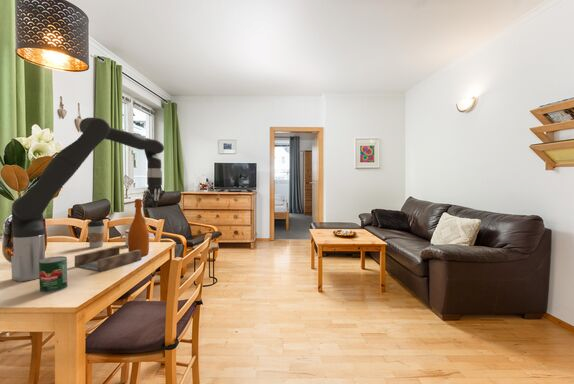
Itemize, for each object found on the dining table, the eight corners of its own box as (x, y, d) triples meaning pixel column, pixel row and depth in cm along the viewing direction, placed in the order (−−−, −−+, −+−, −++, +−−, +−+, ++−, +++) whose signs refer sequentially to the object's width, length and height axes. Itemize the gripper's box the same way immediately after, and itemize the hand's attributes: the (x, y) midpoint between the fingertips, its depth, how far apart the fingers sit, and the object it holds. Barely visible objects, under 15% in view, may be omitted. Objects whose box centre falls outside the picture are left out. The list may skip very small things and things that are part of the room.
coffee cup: (85, 248, 158) (84, 223, 158) (91, 245, 166) (90, 221, 166) (101, 248, 160) (101, 222, 160) (106, 244, 168) (106, 220, 168)
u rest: (101, 271, 119) (101, 260, 119) (74, 266, 126) (74, 255, 126) (141, 259, 138) (141, 250, 138) (116, 255, 145) (116, 246, 145)
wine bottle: (143, 257, 142) (142, 199, 141) (124, 257, 142) (123, 199, 141) (152, 252, 152) (152, 198, 150) (135, 252, 152) (134, 198, 151)
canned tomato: (66, 283, 106) (65, 255, 106) (69, 288, 101) (68, 259, 100) (38, 288, 101) (37, 259, 100) (40, 295, 95) (39, 263, 95)
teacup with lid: (144, 243, 174) (144, 224, 174) (138, 246, 165) (138, 227, 165) (123, 243, 173) (123, 225, 172) (117, 246, 164) (116, 227, 163)
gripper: (149, 176, 147) (149, 208, 148) (168, 176, 160) (169, 206, 160) (139, 176, 150) (139, 208, 151) (159, 176, 162) (159, 206, 163)
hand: (154, 207), depth 156 cm, fingers closed
